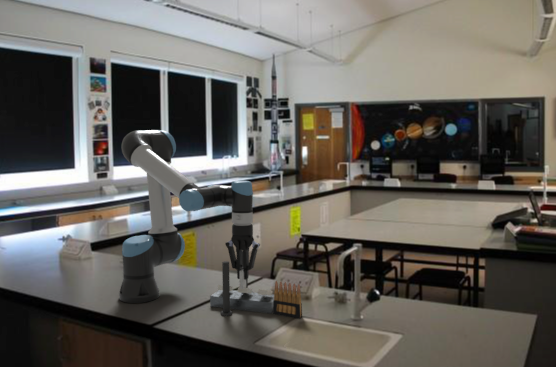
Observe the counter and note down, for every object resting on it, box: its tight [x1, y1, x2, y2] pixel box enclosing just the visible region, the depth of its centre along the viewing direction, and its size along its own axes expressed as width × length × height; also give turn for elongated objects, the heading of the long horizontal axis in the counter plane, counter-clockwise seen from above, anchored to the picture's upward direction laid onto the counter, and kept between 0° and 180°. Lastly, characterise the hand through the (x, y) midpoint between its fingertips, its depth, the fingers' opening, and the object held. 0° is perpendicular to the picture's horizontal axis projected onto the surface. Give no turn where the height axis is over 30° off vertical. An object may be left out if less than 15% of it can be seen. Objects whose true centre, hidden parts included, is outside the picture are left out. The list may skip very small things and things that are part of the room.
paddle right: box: [257, 288, 273, 296], centre depth 196 cm, size 4×5×2 cm
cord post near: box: [220, 260, 233, 317], centre depth 190 cm, size 4×4×19 cm
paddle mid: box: [237, 286, 253, 293], centre depth 199 cm, size 4×5×2 cm
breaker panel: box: [209, 289, 274, 315], centre depth 199 cm, size 24×9×4 cm, turn 71°
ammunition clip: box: [272, 280, 303, 320], centre depth 189 cm, size 11×2×12 cm, turn 62°
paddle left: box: [217, 284, 233, 291], centre depth 202 cm, size 4×5×2 cm
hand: (243, 287), depth 197 cm, fingers closed
